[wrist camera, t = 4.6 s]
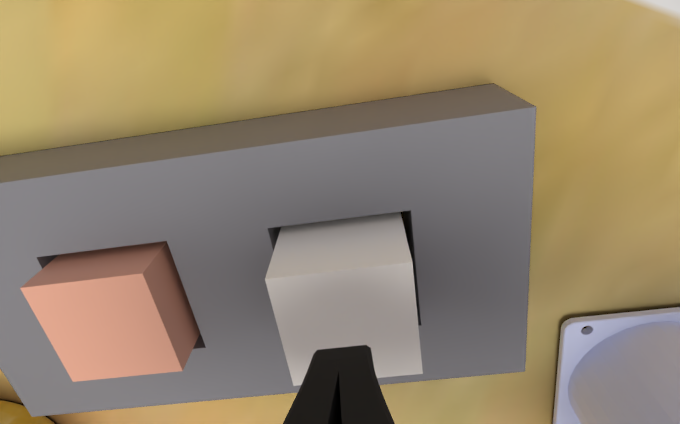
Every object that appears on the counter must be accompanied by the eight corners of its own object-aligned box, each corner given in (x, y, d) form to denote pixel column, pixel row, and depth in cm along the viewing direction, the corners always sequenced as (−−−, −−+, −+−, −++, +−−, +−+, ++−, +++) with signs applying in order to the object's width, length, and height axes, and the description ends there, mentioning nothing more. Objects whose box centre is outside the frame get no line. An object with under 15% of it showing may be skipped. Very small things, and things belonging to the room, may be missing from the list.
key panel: (493, 83, 16) (536, 106, 12) (493, 305, 20) (525, 371, 16) (-15, 158, 17) (-110, 198, 14) (85, 348, 22) (31, 417, 18)
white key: (397, 200, 15) (412, 262, 11) (407, 294, 17) (422, 373, 13) (285, 215, 15) (264, 279, 12) (305, 305, 17) (293, 386, 13)
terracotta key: (187, 215, 17) (142, 273, 13) (215, 299, 18) (182, 371, 15) (90, 228, 17) (20, 288, 13) (126, 309, 19) (72, 381, 15)
